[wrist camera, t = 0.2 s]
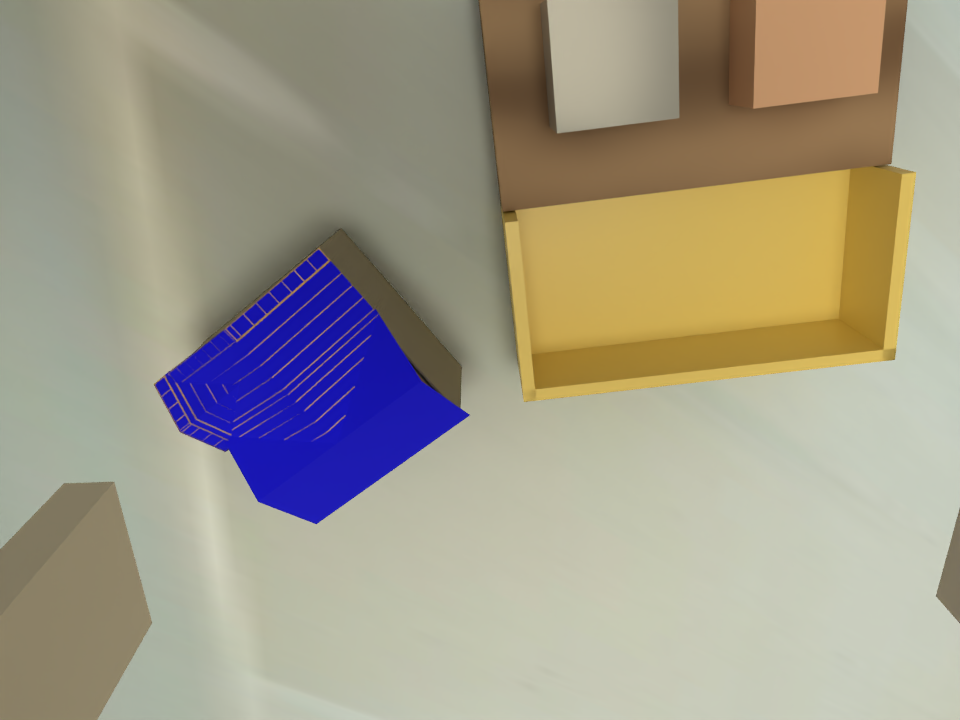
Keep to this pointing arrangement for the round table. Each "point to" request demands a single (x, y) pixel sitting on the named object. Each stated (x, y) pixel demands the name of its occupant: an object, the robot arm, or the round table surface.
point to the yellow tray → (709, 282)
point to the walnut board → (674, 142)
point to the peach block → (803, 50)
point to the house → (318, 384)
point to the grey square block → (610, 62)
